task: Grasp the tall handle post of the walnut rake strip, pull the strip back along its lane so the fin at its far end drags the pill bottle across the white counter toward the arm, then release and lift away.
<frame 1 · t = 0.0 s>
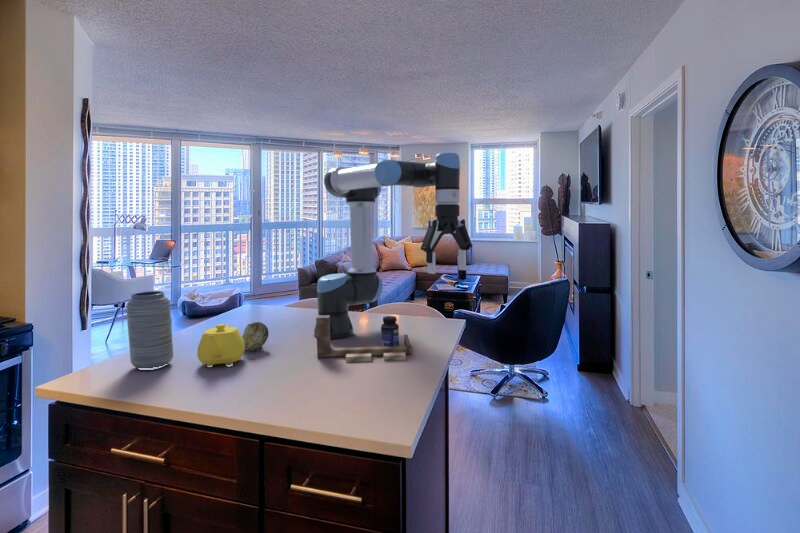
hand: (447, 271, 140), 28 cm above the counter, fingers open, 13 cm apart
yellow faceted lidded jar: (221, 364, 139), on the counter
pill bottle: (390, 349, 153), on the counter
vase: (153, 367, 137), on the counter
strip: (364, 331, 150), point 7 cm above the counter, slide at 0.0 cm
seashell: (256, 349, 155), on the counter
broken strip: (379, 359, 142), on the counter
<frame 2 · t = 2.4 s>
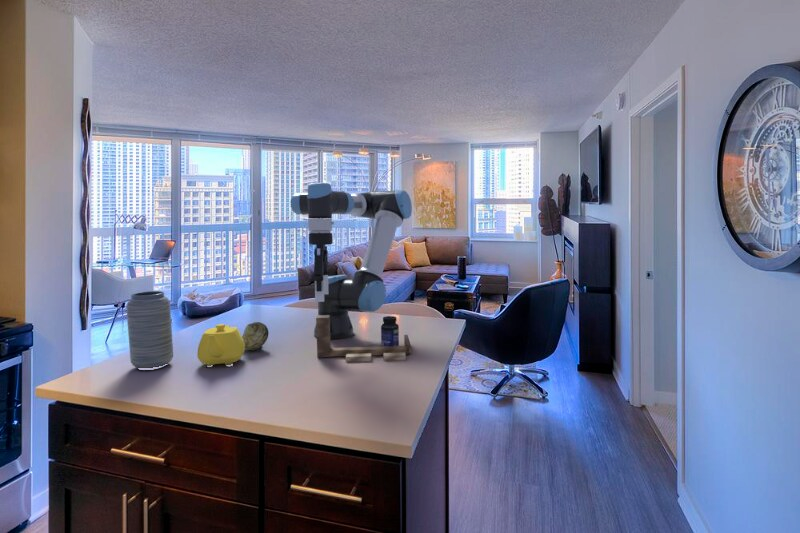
hand: (322, 297, 143), 20 cm above the counter, fingers open, 13 cm apart
nothing on the counter moved.
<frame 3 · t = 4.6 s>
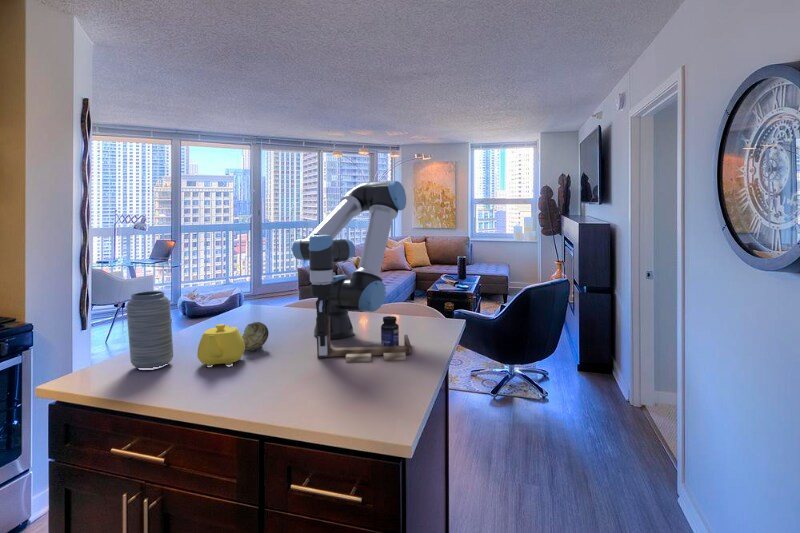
hand: (324, 352, 145), 1 cm above the counter, fingers closed on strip, 4 cm apart
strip: (364, 331, 150), point 7 cm above the counter, slide at 0.0 cm, touching gripper
everything else where it was.
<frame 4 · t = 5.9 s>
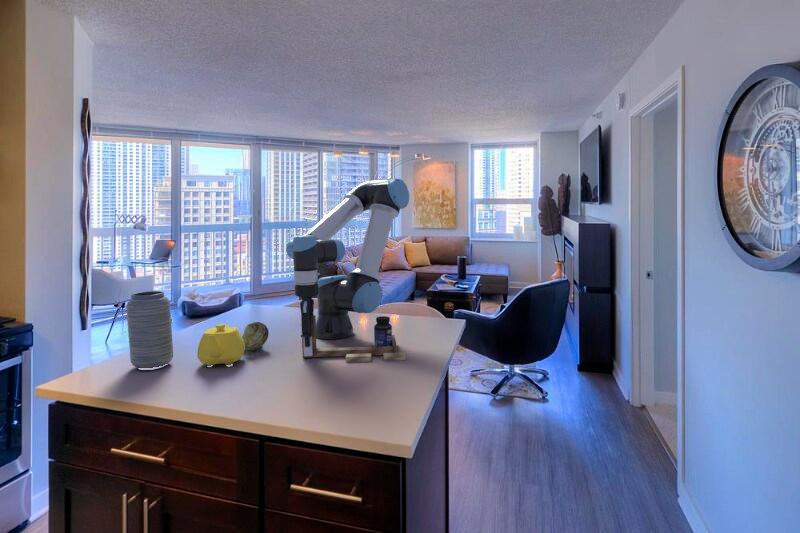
hand: (309, 353, 145), 1 cm above the counter, fingers closed on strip, 4 cm apart
pill bottle: (383, 349, 153), on the counter
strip: (350, 331, 150), point 7 cm above the counter, slide at 4.7 cm, touching gripper
everything else where it was.
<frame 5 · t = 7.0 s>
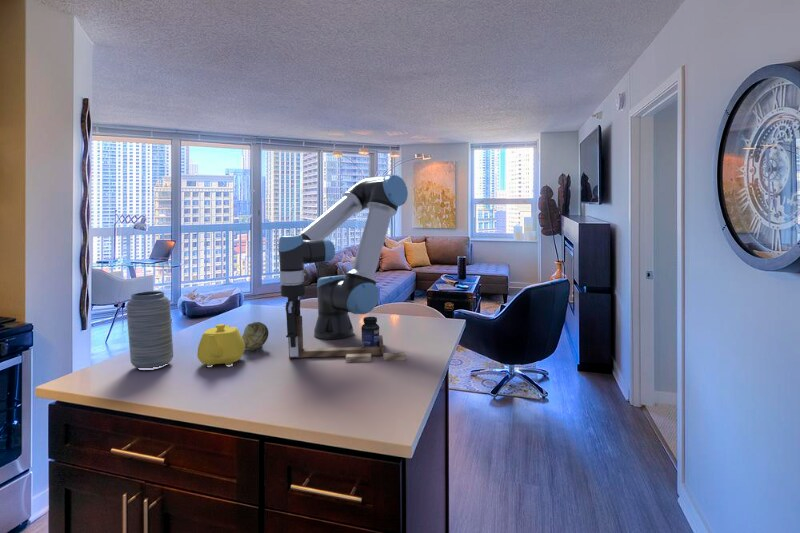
hand: (295, 353, 145), 1 cm above the counter, fingers closed on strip, 4 cm apart
pill bottle: (370, 349, 153), on the counter, touching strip
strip: (337, 331, 150), point 7 cm above the counter, slide at 9.1 cm, touching gripper, pill bottle
everything else where it was.
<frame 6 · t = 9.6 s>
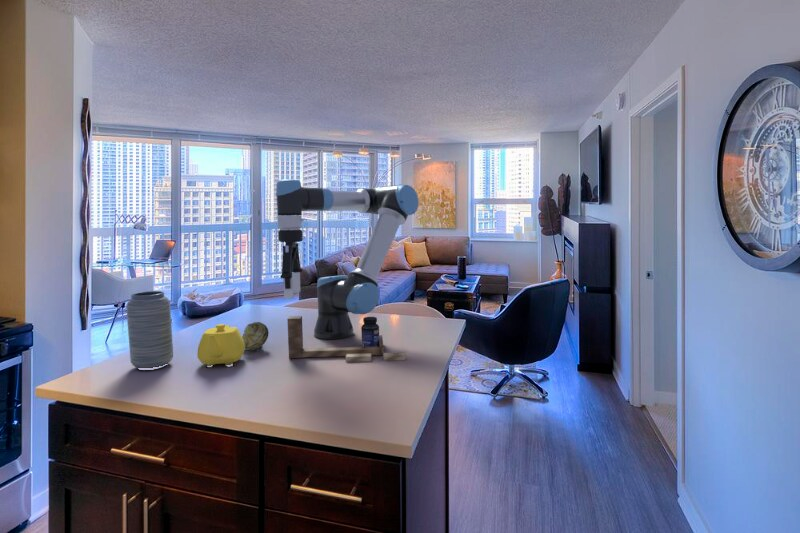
hand: (292, 295, 143), 21 cm above the counter, fingers open, 13 cm apart
pill bottle: (370, 349, 153), on the counter
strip: (337, 331, 150), point 7 cm above the counter, slide at 9.1 cm
everything else where it was.
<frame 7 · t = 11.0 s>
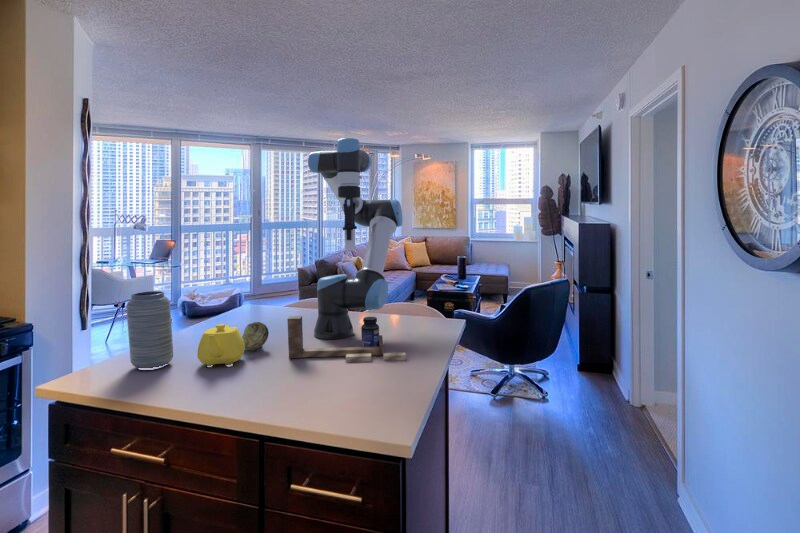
hand: (350, 248, 151), 35 cm above the counter, fingers open, 13 cm apart
nothing on the counter moved.
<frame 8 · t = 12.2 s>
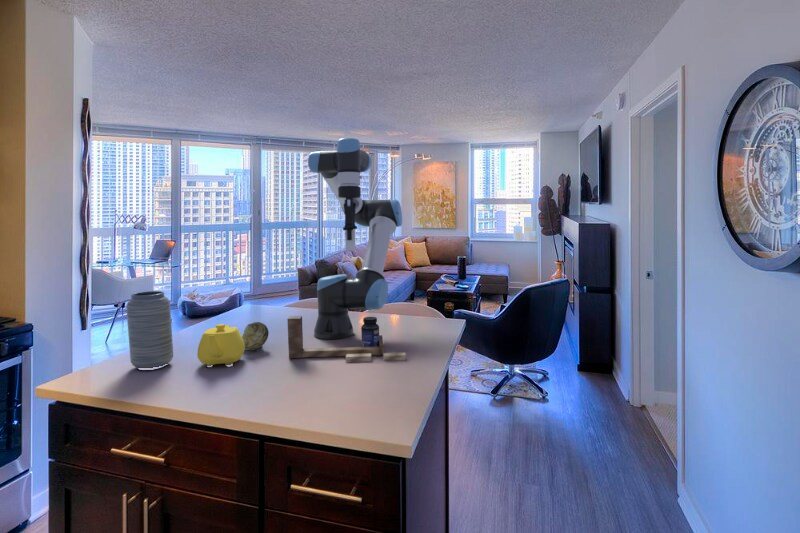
hand: (350, 248, 151), 35 cm above the counter, fingers open, 13 cm apart
nothing on the counter moved.
at the end: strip slide at 9.1 cm; pill bottle moved 6.8 cm from its start; pill bottle inside the target area (2.1 cm from its centre), on the counter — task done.
